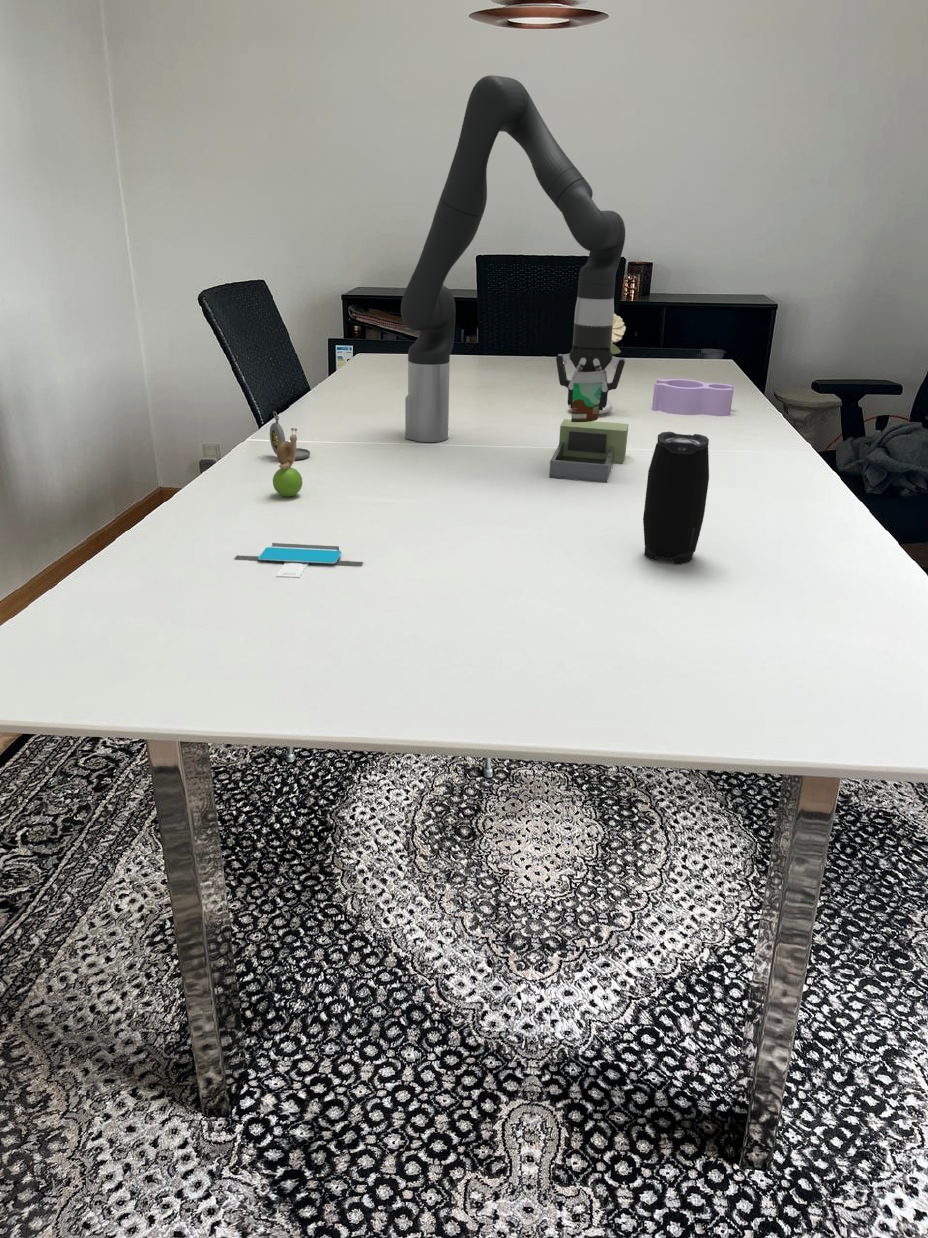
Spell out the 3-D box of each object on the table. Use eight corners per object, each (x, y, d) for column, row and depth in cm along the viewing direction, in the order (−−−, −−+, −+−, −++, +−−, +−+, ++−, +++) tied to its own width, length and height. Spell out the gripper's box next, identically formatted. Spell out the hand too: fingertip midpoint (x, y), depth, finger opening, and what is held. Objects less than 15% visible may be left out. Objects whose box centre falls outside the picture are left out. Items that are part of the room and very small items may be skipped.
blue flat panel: (222, 577, 145) (221, 567, 144) (245, 549, 155) (244, 539, 155) (354, 584, 143) (353, 574, 143) (368, 555, 154) (367, 546, 153)
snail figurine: (310, 491, 182) (307, 429, 176) (294, 501, 176) (291, 437, 171) (285, 488, 183) (281, 426, 178) (268, 498, 178) (264, 433, 172)
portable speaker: (631, 548, 158) (643, 431, 150) (683, 545, 161) (698, 429, 152) (653, 567, 151) (667, 445, 143) (707, 563, 153) (724, 442, 145)
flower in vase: (562, 414, 245) (569, 312, 235) (574, 405, 255) (581, 307, 244) (612, 420, 241) (621, 316, 230) (622, 411, 250) (632, 311, 240)
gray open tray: (549, 477, 194) (550, 460, 193) (559, 457, 208) (560, 441, 206) (606, 482, 192) (608, 465, 190) (612, 462, 206) (614, 446, 204)
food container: (601, 425, 189) (605, 374, 185) (570, 423, 190) (573, 372, 186) (606, 412, 200) (610, 363, 196) (576, 410, 201) (579, 361, 197)
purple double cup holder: (730, 409, 257) (734, 383, 254) (729, 419, 246) (733, 392, 243) (654, 402, 261) (657, 377, 258) (650, 412, 250) (653, 385, 248)
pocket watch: (316, 455, 205) (314, 408, 201) (293, 464, 198) (291, 416, 194) (284, 450, 208) (281, 403, 204) (261, 459, 201) (257, 411, 197)
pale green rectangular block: (557, 458, 207) (560, 426, 205) (561, 450, 214) (564, 418, 211) (623, 463, 205) (626, 431, 202) (625, 455, 211) (628, 423, 208)
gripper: (554, 322, 186) (549, 409, 193) (629, 326, 183) (621, 415, 190) (559, 317, 192) (554, 402, 200) (631, 321, 190) (623, 407, 197)
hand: (586, 408), depth 195 cm, fingers closed on food container, 5 cm apart
